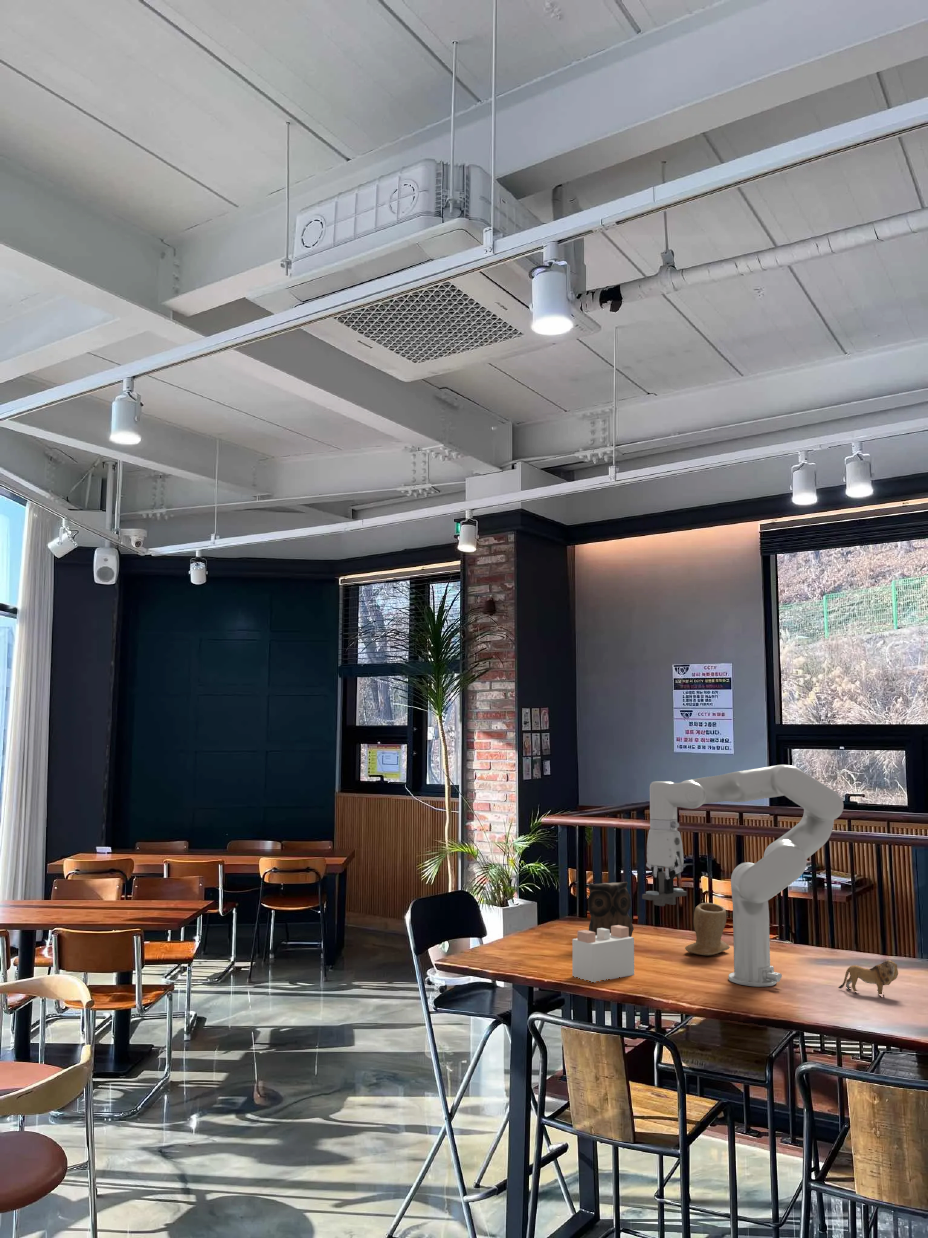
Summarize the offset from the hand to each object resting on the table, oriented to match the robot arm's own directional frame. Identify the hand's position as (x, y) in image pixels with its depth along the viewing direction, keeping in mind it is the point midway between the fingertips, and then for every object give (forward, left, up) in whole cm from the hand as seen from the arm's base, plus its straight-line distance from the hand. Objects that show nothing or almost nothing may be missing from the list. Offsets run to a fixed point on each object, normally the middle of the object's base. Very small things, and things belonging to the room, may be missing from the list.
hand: (664, 892), depth 262 cm
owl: (+39, -17, -23) cm, 48 cm away
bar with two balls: (0, 0, -3) cm, 3 cm away
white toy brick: (+11, +13, -23) cm, 29 cm away
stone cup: (+13, -35, -23) cm, 44 cm away
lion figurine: (-41, -33, -23) cm, 57 cm away
